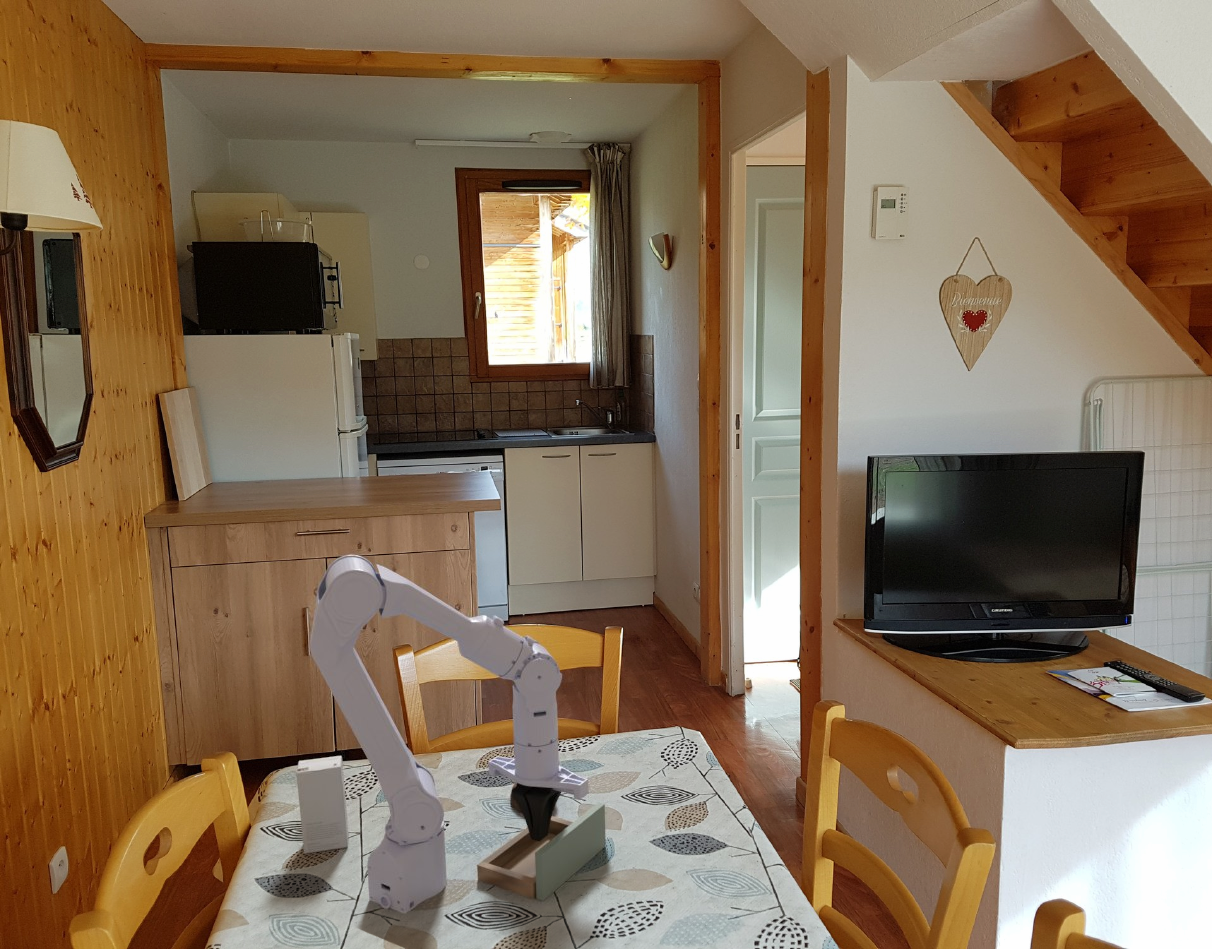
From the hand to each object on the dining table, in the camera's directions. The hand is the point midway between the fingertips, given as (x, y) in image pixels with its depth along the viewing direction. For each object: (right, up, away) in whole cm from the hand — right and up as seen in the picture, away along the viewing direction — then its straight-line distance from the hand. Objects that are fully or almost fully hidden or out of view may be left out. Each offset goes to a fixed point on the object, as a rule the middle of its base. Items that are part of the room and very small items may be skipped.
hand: (539, 837), depth 124 cm
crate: (0, -5, +1) cm, 5 cm away
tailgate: (+5, -4, -3) cm, 6 cm away
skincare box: (-31, -5, +9) cm, 32 cm away
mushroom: (-2, -3, +17) cm, 17 cm away
